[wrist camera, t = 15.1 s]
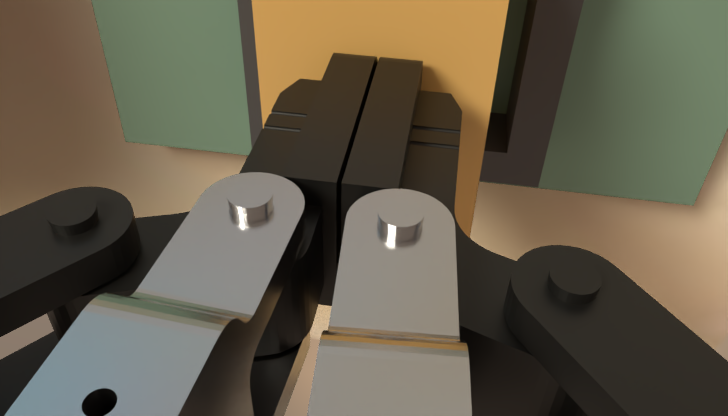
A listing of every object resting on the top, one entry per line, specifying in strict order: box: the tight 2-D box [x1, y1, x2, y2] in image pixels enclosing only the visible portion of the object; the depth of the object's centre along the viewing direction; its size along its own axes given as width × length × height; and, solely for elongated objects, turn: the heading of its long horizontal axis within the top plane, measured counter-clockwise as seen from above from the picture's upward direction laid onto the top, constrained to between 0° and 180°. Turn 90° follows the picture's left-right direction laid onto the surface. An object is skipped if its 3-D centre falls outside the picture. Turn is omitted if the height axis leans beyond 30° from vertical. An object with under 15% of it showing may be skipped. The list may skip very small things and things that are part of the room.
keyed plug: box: [252, 0, 509, 238], centre depth 14 cm, size 4×9×7 cm, turn 179°
